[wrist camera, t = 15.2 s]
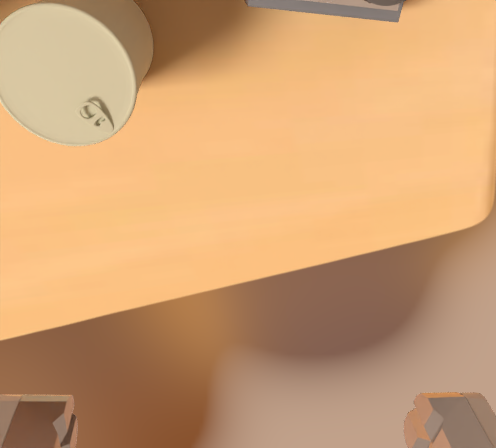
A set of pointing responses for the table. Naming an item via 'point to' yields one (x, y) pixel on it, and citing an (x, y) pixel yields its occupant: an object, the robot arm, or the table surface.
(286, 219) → the table surface
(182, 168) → the table surface
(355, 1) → the scale pan
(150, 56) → the can
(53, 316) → the table surface
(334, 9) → the scale body
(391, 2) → the cylinder
